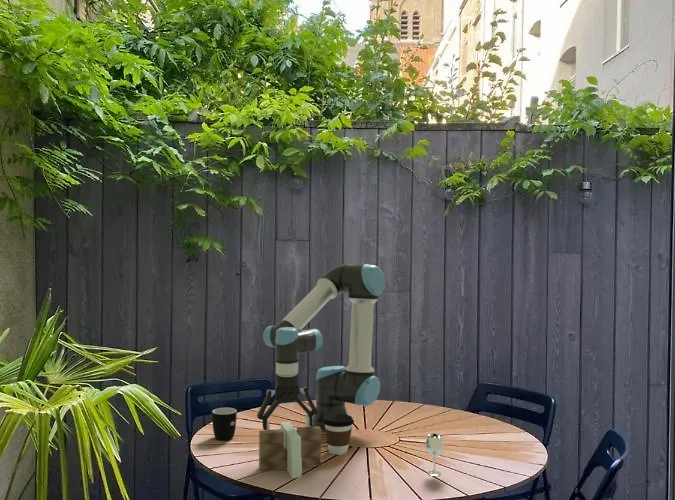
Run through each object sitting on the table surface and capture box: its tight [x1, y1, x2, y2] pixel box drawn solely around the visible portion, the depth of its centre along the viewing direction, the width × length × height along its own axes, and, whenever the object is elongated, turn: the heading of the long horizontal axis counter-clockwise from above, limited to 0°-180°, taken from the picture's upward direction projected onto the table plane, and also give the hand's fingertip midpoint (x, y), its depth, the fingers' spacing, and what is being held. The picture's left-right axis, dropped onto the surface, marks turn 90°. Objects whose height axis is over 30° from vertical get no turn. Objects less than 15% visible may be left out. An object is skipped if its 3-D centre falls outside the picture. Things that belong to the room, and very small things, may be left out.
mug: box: [211, 407, 238, 441], centre depth 229 cm, size 12×9×10 cm
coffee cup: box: [323, 414, 355, 456], centre depth 214 cm, size 11×11×12 cm
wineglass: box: [424, 433, 445, 477], centre depth 195 cm, size 6×6×12 cm
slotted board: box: [258, 426, 322, 472], centre depth 200 cm, size 20×3×12 cm, turn 106°
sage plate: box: [280, 421, 303, 479], centre depth 200 cm, size 3×20×12 cm, turn 16°
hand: (287, 437), depth 205 cm, fingers open, 13 cm apart
